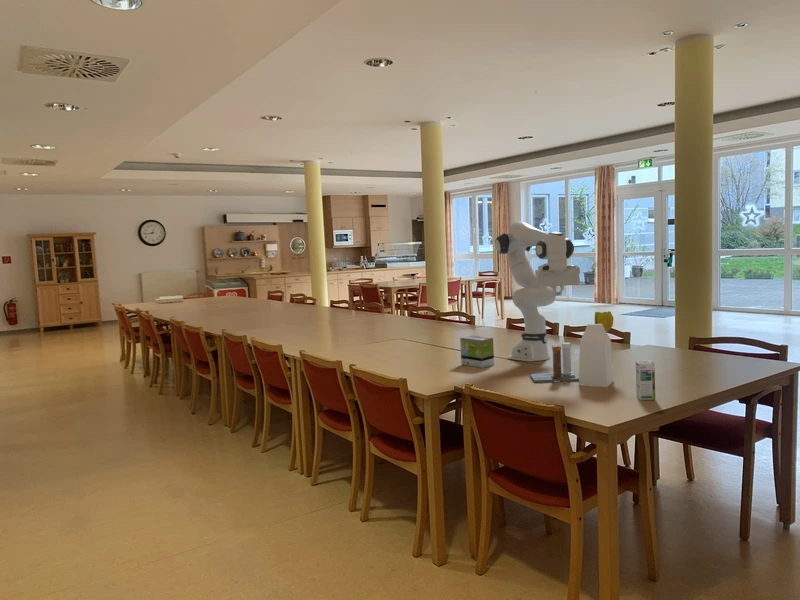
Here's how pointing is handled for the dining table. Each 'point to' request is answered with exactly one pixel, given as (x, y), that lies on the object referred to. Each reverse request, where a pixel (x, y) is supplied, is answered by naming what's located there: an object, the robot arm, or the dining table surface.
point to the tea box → (477, 351)
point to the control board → (547, 378)
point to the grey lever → (566, 359)
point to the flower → (604, 319)
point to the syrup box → (645, 380)
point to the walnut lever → (557, 362)
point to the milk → (595, 357)
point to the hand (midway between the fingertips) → (558, 295)
